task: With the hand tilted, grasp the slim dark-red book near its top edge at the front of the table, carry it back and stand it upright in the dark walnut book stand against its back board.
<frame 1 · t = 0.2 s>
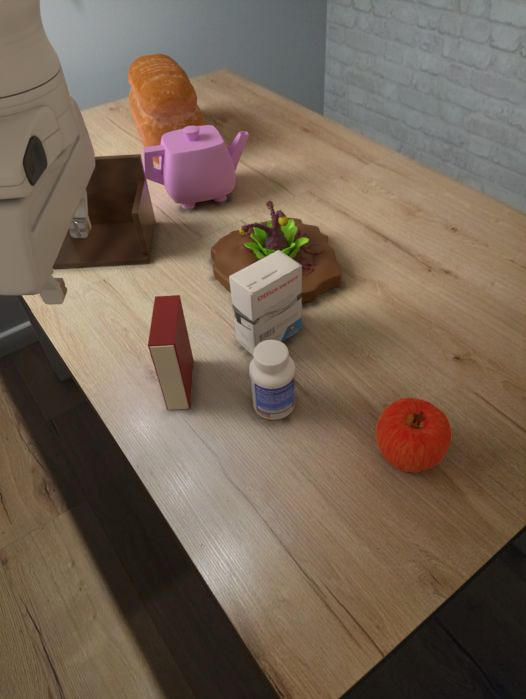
hand: (70, 264, 48), 23 cm above the table, tool pointing down, fingers open, 8 cm apart
ink box: (268, 336, 73), on the table
plant: (276, 268, 83), on the table
book stand: (106, 244, 89), on the table
book: (180, 384, 68), on the table
bread: (170, 139, 116), on the table
apple: (406, 452, 60), on the table
teapot: (202, 194, 100), on the table
pill bottle: (273, 404, 65), on the table
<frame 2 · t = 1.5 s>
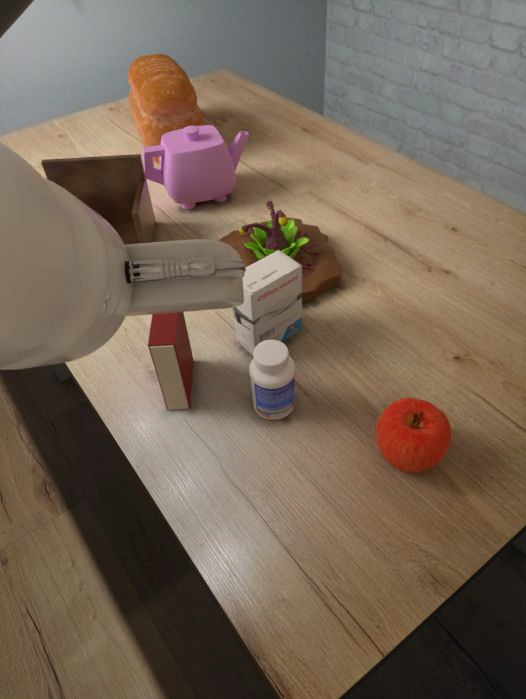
hand: (115, 297, 40), 26 cm above the table, tool tilted 45°, fingers open, 8 cm apart
nothing on the table moved.
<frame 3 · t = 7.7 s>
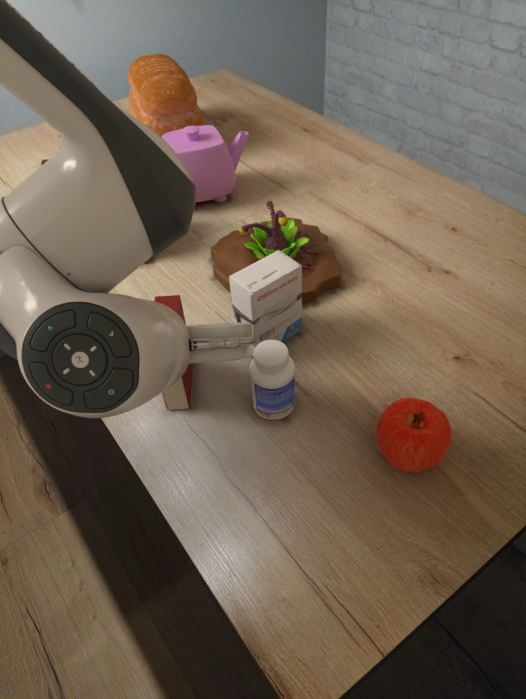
hand: (168, 342, 61), 9 cm above the table, tool tilted 45°, fingers closed on book, 3 cm apart
book: (181, 384, 68), on the table, touching gripper
everything else where it was.
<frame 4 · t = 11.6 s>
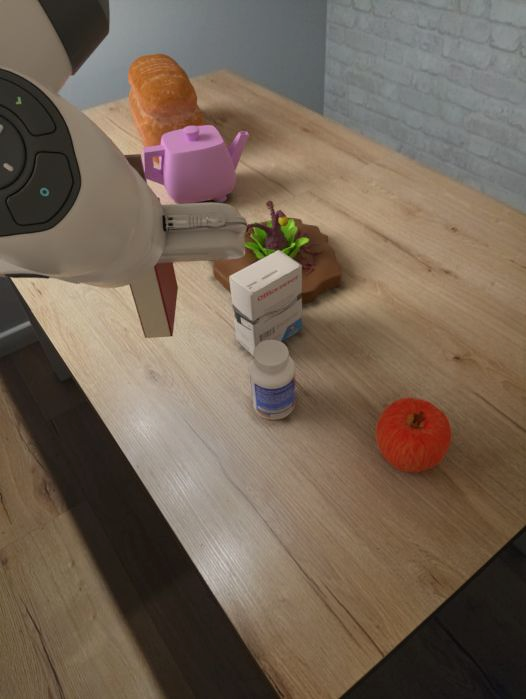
hand: (145, 252, 51), 22 cm above the table, tool tilted 45°, fingers closed on book, 3 cm apart
book: (162, 311, 58), point 13 cm above the table, touching gripper
everything else where it was.
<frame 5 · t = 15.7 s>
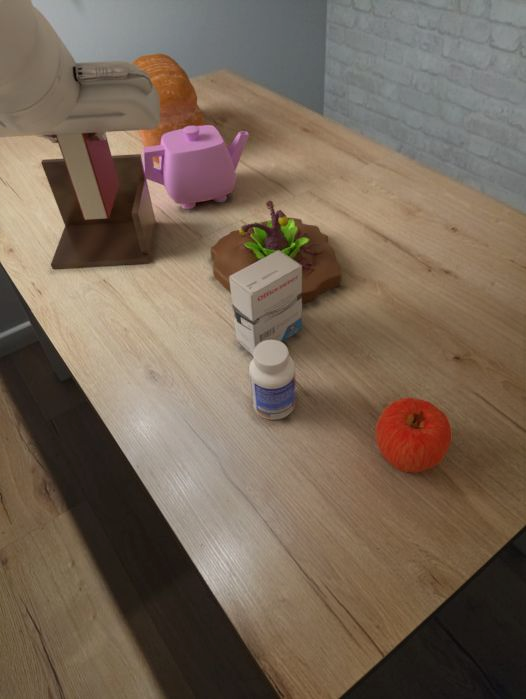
hand: (79, 134, 57), 27 cm above the table, tool tilted 45°, fingers closed on book, 3 cm apart
book: (102, 201, 64), point 18 cm above the table, touching gripper
everything else where it was.
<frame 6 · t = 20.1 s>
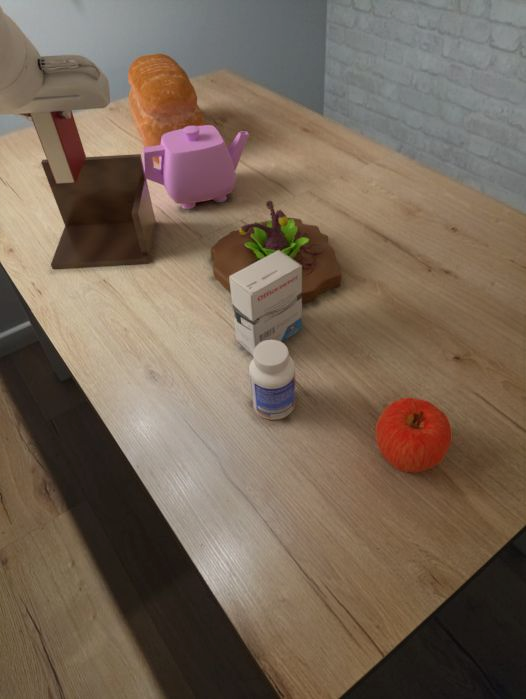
hand: (49, 114, 72), 23 cm above the table, tool tilted 45°, fingers closed on book, 3 cm apart
book: (71, 169, 79), point 14 cm above the table, touching gripper
everything else where it was.
when the fingers open (10 cm above the table, at t = 23.8 s): book stays where it is, resting on book stand.
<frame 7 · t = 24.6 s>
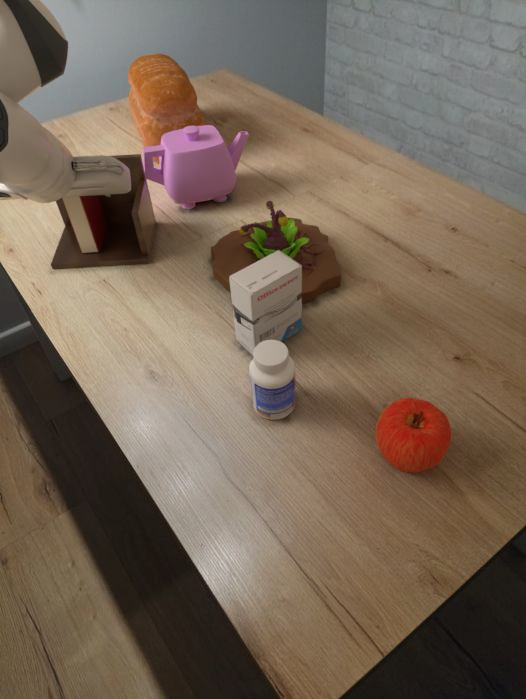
hand: (76, 193, 82), 10 cm above the table, tool tilted 45°, fingers open, 8 cm apart
book: (94, 238, 89), point 1 cm above the table, touching book stand
everything else where it was.
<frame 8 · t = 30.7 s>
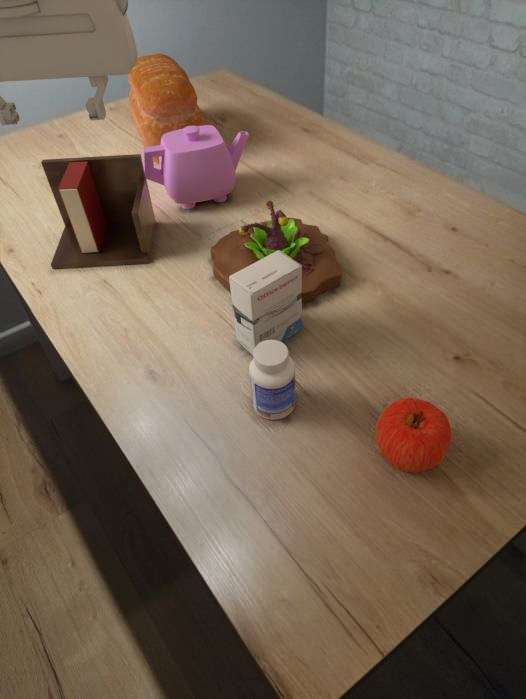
hand: (54, 120, 56), 29 cm above the table, tool pointing down, fingers open, 8 cm apart
nothing on the table moved.
at the end: book inside the target area on the book stand (1.0 cm from its centre), point 1.0 cm above the book stand's base; book tilted 0°; the gripper is holding nothing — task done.
